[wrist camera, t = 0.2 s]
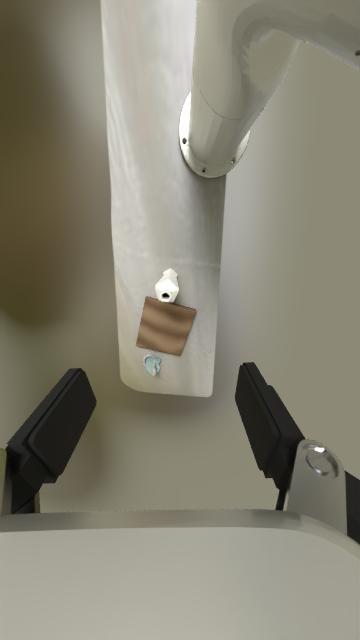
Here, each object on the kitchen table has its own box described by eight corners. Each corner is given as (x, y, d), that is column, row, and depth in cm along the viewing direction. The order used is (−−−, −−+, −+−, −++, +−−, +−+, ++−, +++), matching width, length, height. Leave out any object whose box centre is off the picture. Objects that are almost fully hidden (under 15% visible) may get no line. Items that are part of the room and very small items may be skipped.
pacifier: (142, 367, 57) (159, 369, 57) (137, 381, 51) (157, 384, 52) (143, 350, 54) (161, 353, 54) (138, 364, 48) (158, 367, 48)
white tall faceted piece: (181, 283, 43) (181, 306, 30) (164, 286, 43) (157, 310, 30) (177, 265, 41) (176, 281, 28) (160, 268, 41) (151, 286, 28)
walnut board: (146, 296, 45) (145, 298, 43) (195, 309, 46) (196, 311, 45) (137, 342, 52) (135, 345, 50) (179, 352, 54) (179, 355, 52)
